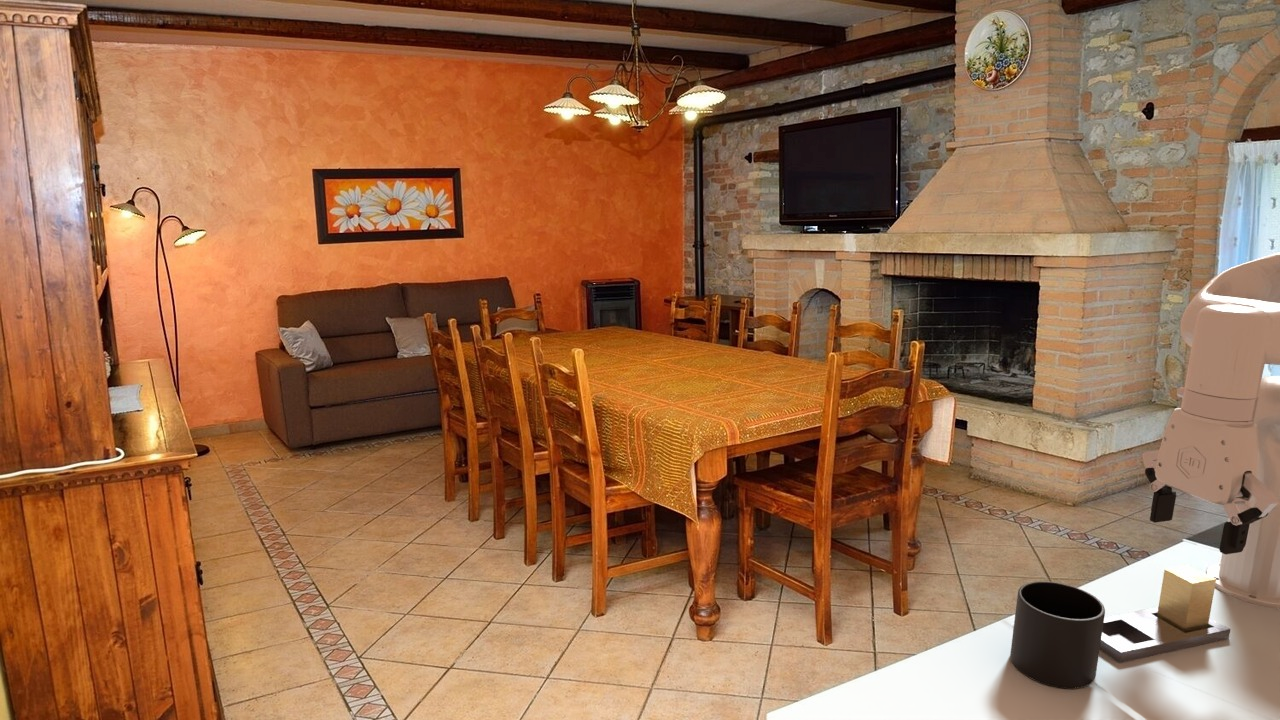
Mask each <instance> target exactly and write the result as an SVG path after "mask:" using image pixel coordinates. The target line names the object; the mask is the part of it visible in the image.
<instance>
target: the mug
mask: <svg viewBox="0 0 1280 720" xmlns="http://www.w3.org/2000/svg"><path fill="white" fill-rule="evenodd" d="M1014 613H1015V614H1014V622H1013V630H1012V638H1011V647H1010V653H1009V654H1010V659H1011V662H1012V663H1013V665H1014V667H1015V668H1016V669H1017V670H1018V671H1019V672H1021V674H1023V675H1025V676H1026V677H1027V678H1030V679H1031V680H1034V681H1036V682H1038V683H1040V684H1043V685H1047V686H1051V687H1055V688H1059V689H1080V688H1084V687H1087V686H1089V685H1091V684H1092V683H1093V682H1094V679H1095V678H1096V676H1097V667H1098V662H1099V655H1100V643H1101V636H1102V630H1103V623H1104V618H1105V617H1106V616H1105V615H1106V608H1105V606H1104V604H1103V602H1102V601H1101V600H1100V599H1098V598H1097V597H1096V596H1094V595H1093V594H1091V593H1089V592H1087V591H1085V590H1083V589H1081V588H1078V587H1075V586H1072V585H1069V584H1066V583H1065V584H1064V583H1061V582H1055V581H1046V580H1045V581H1032V582H1031V581H1030V582H1027V583H1024V584H1023V585H1021V586H1020V587H1019V588H1018V591H1017V597H1016V605H1015V612H1014Z"/></svg>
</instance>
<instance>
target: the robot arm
mask: <svg viewBox="0 0 1280 720" xmlns="http://www.w3.org/2000/svg"><path fill="white" fill-rule="evenodd" d="M1179 326H1180V330H1179V331H1180V335H1181V338H1182V339H1183V341H1184V342H1185V343H1186V345H1187V346H1189V347H1190V354H1189V361H1188V363H1187V364H1188V365H1187V371H1186V378H1185V383H1184V387H1183V386H1180V387H1179V388H1178V389H1177V390H1176V396H1177V397H1179V398H1181V399H1182V400H1181V404H1180V405H1181V406H1180V407H1176V408H1174V410H1173V411H1172V413H1171V416H1170V417H1169V420H1168V422H1167V424H1166V427H1165V430H1164V432H1163V436H1162V440H1161V443H1160V446H1159V449H1154V450H1150V451H1144V452H1142V454H1141V457H1142V461H1143V465H1144V468H1145V470H1144V473H1145V476H1146V478H1147V479H1148V481H1149V483H1150V484H1149V490H1150V491H1152V493H1153V496H1152V500H1151V501H1152V502H1151V508H1150V516H1149V521H1150V522H1152V523H1156V524H1157V523H1162V522H1169V521H1172V520H1173V516H1174V512H1175V511H1174V510H1175V505H1176V499H1177V492H1176V491H1174V490H1177V491H1179V492H1181V493H1184V494H1187V495H1189V496H1192V497H1194V498H1196V499H1199V500H1201V501H1204V502H1207V503H1210V504H1214V505H1218V506H1221V505H1222V507H1223V509H1224V511H1225V513H1226V515H1227V517H1228V519H1227V521H1226V522H1224V524H1223V527H1222V533H1221V539H1220V544H1219V548H1218V549H1219V552H1220V553H1221V557H1220V562H1218V563H1214V564H1211V565H1209V566H1208V567H1206V570H1205V574H1207V575H1209V576H1211V577H1213V578H1216V584H1215V589H1217V590H1219V591H1220V592H1223V593H1224V594H1227V595H1228V596H1231V597H1233V598H1236V599H1238V600H1242V601H1244V602H1247V603H1249V604H1253V605H1258V606H1263V607H1268V608H1274V609H1280V375H1271V376H1269V375H1268V376H1265V377H1263V375H1264V369H1265V365H1273V366H1274V365H1275V366H1280V251H1279V252H1275V253H1272V254H1269V255H1265V256H1262V257H1259V258H1256V259H1254V260H1251V261H1247V262H1244V263H1241V264H1237V265H1235V266H1232V267H1230V268H1228V269H1226V270H1224V271H1222V272H1220V273H1218V274H1217V275H1215V276H1214V277H1213V278H1211V279H1210V280H1209V281H1208V283H1206V284H1205V285H1204V286H1203V287H1202V288H1201V289H1200V290H1199V291H1198V292H1197V293H1196V294H1195V295H1194V297H1193V298H1192V300H1191V301H1190V302H1188V305H1187V306H1186V308H1185V309H1184V311H1183V314H1182V317H1181V320H1180V324H1179ZM1173 489H1174V490H1173Z"/></svg>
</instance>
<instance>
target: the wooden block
mask: <svg viewBox="0 0 1280 720" xmlns="http://www.w3.org/2000/svg"><path fill="white" fill-rule="evenodd" d="M1163 571H1164V572H1163V576H1162V577H1163V578H1162V583H1161V589H1160V595H1159V600H1158V601H1159V602H1158V606H1157V607H1158V613H1157V617H1158V618H1160V619H1161V620H1163V621H1165V622H1167V623H1168V624H1170V625H1172V626H1174V627H1175V628H1177V629H1179V630H1181V631H1182V632H1184V633H1188V632H1193V631H1198V630H1202V629H1207V628H1208V623H1209V618H1210V616H1211V610H1212V605H1213V599H1214V594H1215V589H1216V587H1215V584H1216V578H1213V577H1211V576H1209V575H1207V574H1206V572H1203V571H1202V570H1198V568H1197V569H1196V568H1194V567H1193V566H1190V565H1189V564H1185V565H1181V566H1174V567H1169V568H1164V570H1163Z"/></svg>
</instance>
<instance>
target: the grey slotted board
mask: <svg viewBox="0 0 1280 720" xmlns="http://www.w3.org/2000/svg"><path fill="white" fill-rule="evenodd" d="M1157 613H1158V606H1157V607H1151V608H1146V609H1142V610H1137V611H1132V612H1127V613H1121V614H1116V615H1110V616H1104V623H1103V630H1102V636H1101V643H1100V650H1099V652H1100V651H1101V652H1102V653H1104V654H1105V655H1107V656H1108V657H1109V658H1111V659H1112V660H1115V661H1116V662H1117V663H1119V664H1122V663H1126V662H1132V661H1136V660H1141V659H1145V658H1150V657H1153V656H1158V655H1159V656H1160V655H1163V654H1168V653H1173V652H1177V651H1181V650H1186V649H1190V648H1196V647H1200V646H1204V645H1208V644H1213V643H1218V642H1222V641H1227V640H1229V638H1230V634H1231V628H1229V627H1228V626H1226V625H1224V624H1222V623H1220V622H1218V621H1217V620H1215V619H1212V618H1210V617H1209V623H1208V628H1207V629H1202V630H1198V631H1193V632H1188V633H1184V632H1182V631H1181V630H1179V629H1177V628H1175V627H1174V626H1172V625H1170V624H1168V623H1167V622H1165V621H1163V620H1161V619H1160V618H1158V617H1157Z"/></svg>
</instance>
